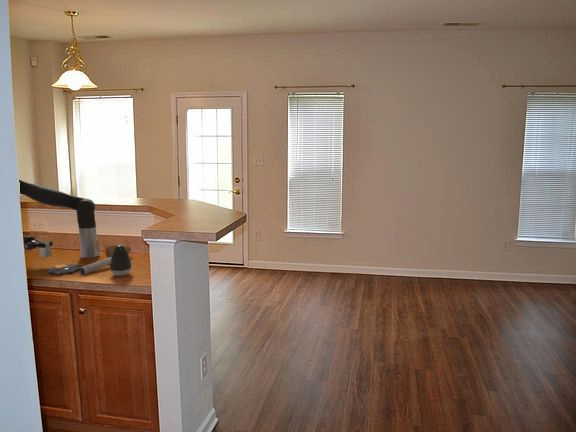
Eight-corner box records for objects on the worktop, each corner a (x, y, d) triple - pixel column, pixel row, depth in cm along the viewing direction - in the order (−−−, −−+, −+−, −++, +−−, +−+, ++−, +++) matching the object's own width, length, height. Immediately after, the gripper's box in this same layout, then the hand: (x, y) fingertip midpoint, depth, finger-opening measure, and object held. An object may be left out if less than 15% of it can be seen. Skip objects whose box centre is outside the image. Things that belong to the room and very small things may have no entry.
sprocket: (72, 264, 261) (72, 261, 260) (88, 270, 250) (88, 267, 250) (40, 271, 248) (40, 268, 248) (55, 277, 237) (55, 274, 237)
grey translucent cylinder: (45, 255, 258) (43, 235, 256) (51, 255, 256) (49, 235, 254) (39, 257, 254) (37, 236, 252) (45, 257, 253) (43, 237, 251)
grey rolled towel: (77, 266, 243) (118, 250, 263) (80, 279, 245) (120, 261, 265) (84, 268, 240) (124, 251, 260) (86, 280, 242) (126, 263, 262)
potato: (135, 257, 276) (134, 241, 274) (111, 263, 264) (110, 246, 262) (126, 255, 281) (125, 239, 279) (102, 260, 269) (101, 244, 267)
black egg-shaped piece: (111, 278, 235) (109, 248, 233) (110, 273, 245) (108, 244, 242) (133, 276, 239) (131, 246, 237) (130, 271, 249) (129, 242, 246)
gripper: (11, 238, 252) (36, 240, 246) (34, 233, 265) (58, 235, 259) (13, 252, 253) (38, 255, 247) (35, 246, 266) (59, 248, 260)
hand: (48, 244), depth 253 cm, fingers closed on grey translucent cylinder, 4 cm apart
